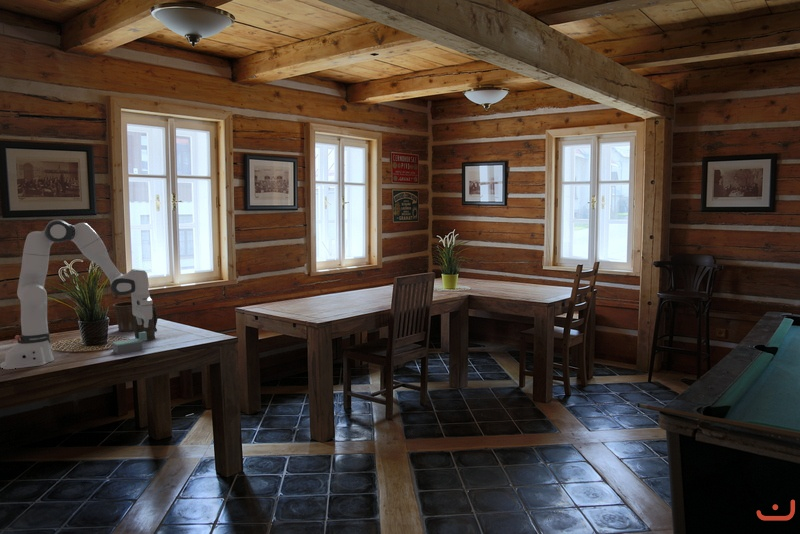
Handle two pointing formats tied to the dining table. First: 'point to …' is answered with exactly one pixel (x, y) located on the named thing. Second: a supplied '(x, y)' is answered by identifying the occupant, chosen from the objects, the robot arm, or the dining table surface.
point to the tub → (127, 348)
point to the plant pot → (124, 316)
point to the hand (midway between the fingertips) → (143, 326)
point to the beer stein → (150, 329)
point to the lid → (141, 338)
